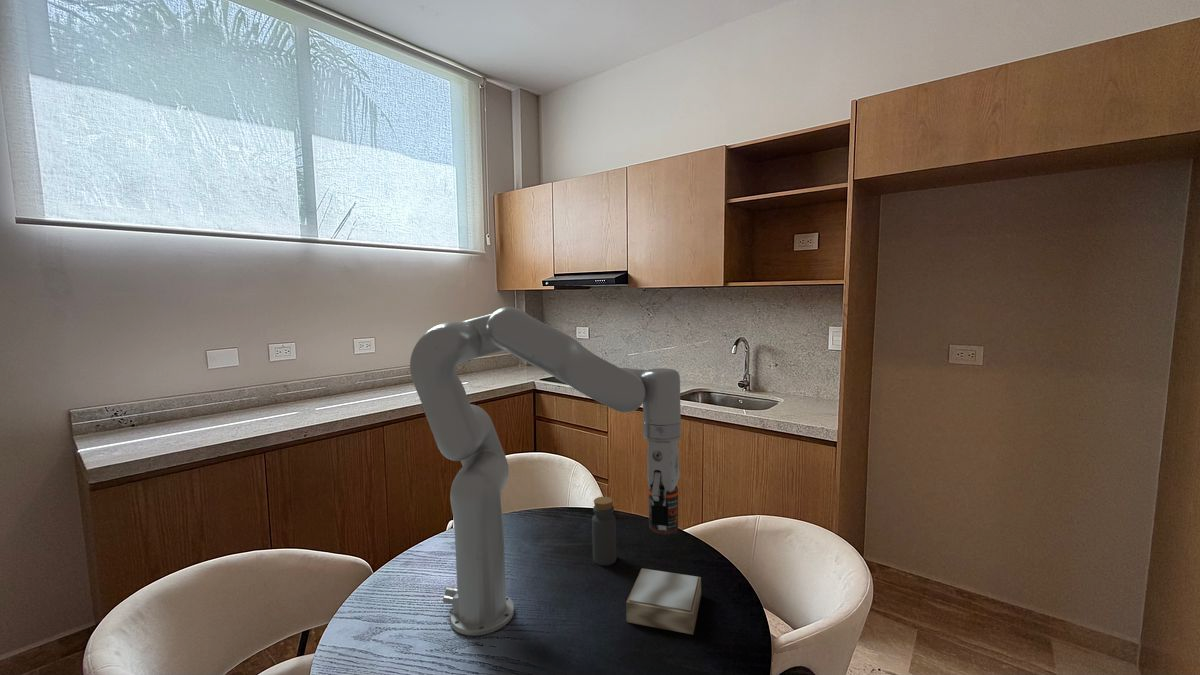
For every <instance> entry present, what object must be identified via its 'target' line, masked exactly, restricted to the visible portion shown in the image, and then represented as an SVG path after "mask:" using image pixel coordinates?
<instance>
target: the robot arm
mask: <svg viewBox="0 0 1200 675" xmlns="http://www.w3.org/2000/svg"><path fill="white" fill-rule="evenodd" d="M503 351H504V352H505V353H508V354H510V355H512V356H514V357H516V358H518V359H520V360H522V361H524V362H526V363H528V364H530V365H532V366H533V367H535V368H537V369H539V370H541V371H544V372H545V373H547V374H549V375H550V376H552V377H554V378H555V379H557V380H558V381H560V382H562V383H564V384H566V385H568V386H569V387H571V388H572V389H574V390H576V391H578V392H580V393H581V394H583V395H585V396H586V397H588V398H589V399H590V398H591V399H592V400H594V401H596V402H598V403H600V404H602V405H604V406H606V407H608V408H610V409H612V410H614V411H617V412H620V413H631V412H633V411H636V410H638V409H639V408H641V406H642V428H643V430H642V431H643V433H642V434H643V436H642V437H643V439H645V440H647V441H648V442H647V485H648V490H649V489H650V490H652V524H654V525H662V526H667V525H668V505H666V504H667V491H669V492H672V491H673V490H674V489H675V487H676V486H677V484H678V482H679V480H680V477H681V476H680V475H681V474H680V456H679V453H680V452H679V443H678V442H679V440H681V438H682V432H681V431H682V425H681V424H682V422H681V417H682V415H681V376H680V373H679V372H678V370H676V369H673V368H658V367H657V368H651V369H639V368H628V367H619V366H617V365H615V364H613V363H612V362H610V361H607V360H605V359H603V358H601V357H600V356H598V355H596V354H595V353H593V352H592V351H590V350H589V349H587V348H586V347H585V346H584V345H583V344H582V343H580V342H579V341H577V340H576V339H575V338H573V337H572V336H570V335H568V334H566V333H564V332H562V331H561V330H559V329H556V328H554V327H552V326H550V325H548V324H546V323H545V322H542V321H541V320H539V319H537V318H535V317H533V316H532V315H529V314H528V313H527V312H526V311H524V310H523V309H521V308H518V307H512V306H503V307H500V308H498V309H496V310H495V311H493V312H492V313H489V314H486V315H483V316H478V317H474V318H470V319H466V320H462V321H450V322H443V323H439V324H437V325H434V326H433V327H431V328H429V329H428V330H427V331H426V332H424V333H423V335H422V336H421V337H420V338H419V339H418V340H417V342H416V343H415V345H414V347H413V349H412V352H411V355H410V361H409V369H410V370H409V371H410V375H411V379H412V383H413V385H414V388H415V390H416V393H417V395H418V397H419V400H420V403H421V406H422V409H423V411H424V414H425V417H426V419H427V422H428V426H429V427H430V430H431V433H432V436H433V438H434V441H435V444H436V447H437V448H438V450H439V451H440V453H441V454H442V456H444V458H446V459H448V460H450V461H453V462H458V461H460V463H461V465H462V467H461V468H460V469H459V471H458V472H457V473H456V475H455V477H454V479H453V481H452V484H451V487H450V493H449V495H450V497H449V499H450V506H451V512H452V518H453V527H454V545H455V566H456V569H455V571H456V587H455V586H447V587H446V588H445V590H444V596H443V599H442V602H443V603H444V604H448V605H449V604H450V605H452V606H453V607H452V608H453V609H452V611H451V612H450V615H449V619H450V621H449V622H450V626H451V627H452V628H451V629H453V630H454V631H455V632H456V633H459V634H461V635H464V636H470V637H471V636H474V637H475V636H483V635H488V634H490V633H494V632H496V631H499V630H500V629H502V628H504V627H505V626H506V625H507V624H509V622H510V621H512V619H513V616H514V613H515V604H514V602H513V600H512V599H511V597H510V596H508V595H507V592H506V591H507V590H506V564H505V563H506V562H505V560H506V559H505V557H506V555H505V538H504V537H505V536H504V535H505V533H504V530H505V529H504V517H503V509H502V493H503V490H504V487H505V485H506V483H507V480H508V477H509V473H510V472H509V471H510V470H509V463H508V459H507V457H506V453H505V451H504V449H503V446H502V444H501V441H500V439H499V436H498V433H497V431H496V428H495V426H494V422H493V420H492V418H491V417H490V415H489V414H488V412H487V411H486V410H485V409H484V408H482V407H480V406H478V405H476V404H471V403H470V401H469V400H470V399H469V398H468V395H467V392H466V389H465V387H464V385H463V383H462V380H461V379H460V377H459V376H458V373H457V367H458V366H459V365H460V364H462V363H465V362H468V361H472V360H474V359H477V358H481V357H484V356H488V355H492V354H496V353H499V352H503ZM660 486H664V489H660ZM660 492H662V493H663V497H662V495H660Z"/></svg>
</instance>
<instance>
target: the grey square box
mask: <svg viewBox="0 0 1200 675" xmlns="http://www.w3.org/2000/svg"><path fill="white" fill-rule="evenodd" d="M701 598H702V577H701V576H695V575H689V574H683V573H682V574H681V573H675V572H670V571H664V570H663V571H662V570H655V569H649V568H643V567H642V568H641V569H640V571H639V573H638V576H637V578H636V580H635V582H634V584H633V586H632V589H631V591H630V592H629V595H628V597H627V600H626V601H625V607H626V608H625V609H626V610H625V611H626V612H625V613H626V618H625V620H626V623H629V624H630V623H631V624H635V625H640V626H646V627H651V628H656V629H660V630H661V629H662V630H667V631H673V632H677V633H683V634H688V635H694V632H695V628H696V623H697V618H698V612H699V608H700V603H701Z"/></svg>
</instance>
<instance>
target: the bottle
mask: <svg viewBox="0 0 1200 675" xmlns="http://www.w3.org/2000/svg"><path fill="white" fill-rule="evenodd" d="M613 502H614V500H613V498H611V497H609V496H600V497H599V496H598V497H596V498H594V499H593V503H594V506H593V507H592V511H593V514H594V515H593V516H592V518H591V531H592V532H591V537H592V538H591V539H592V540H591V541H592V561H593V562H594V564H596V565H599V566H610V565H613V564H614V563H615V562H616V561H617V527H616V526H617V525H616V522H617V521H616V516H615V515H614V514H613V513H614V511H615V507H614V506H613Z"/></svg>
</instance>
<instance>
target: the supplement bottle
mask: <svg viewBox="0 0 1200 675" xmlns="http://www.w3.org/2000/svg"><path fill="white" fill-rule="evenodd" d="M660 489H664V486H660ZM660 495H662V497H663V493H662V492H660ZM666 505H668V525H667V526H662V525H654V524H652V490H650V489H649V488H648V527H649V529H650V530H651V532H653V533H656V534H659V535H671V534H674V533H676V532H677V531H678V529H679V489H678V486H677V485H676V487H675V489H674V490H673V491H672V492H669V491H667V504H666Z"/></svg>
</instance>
